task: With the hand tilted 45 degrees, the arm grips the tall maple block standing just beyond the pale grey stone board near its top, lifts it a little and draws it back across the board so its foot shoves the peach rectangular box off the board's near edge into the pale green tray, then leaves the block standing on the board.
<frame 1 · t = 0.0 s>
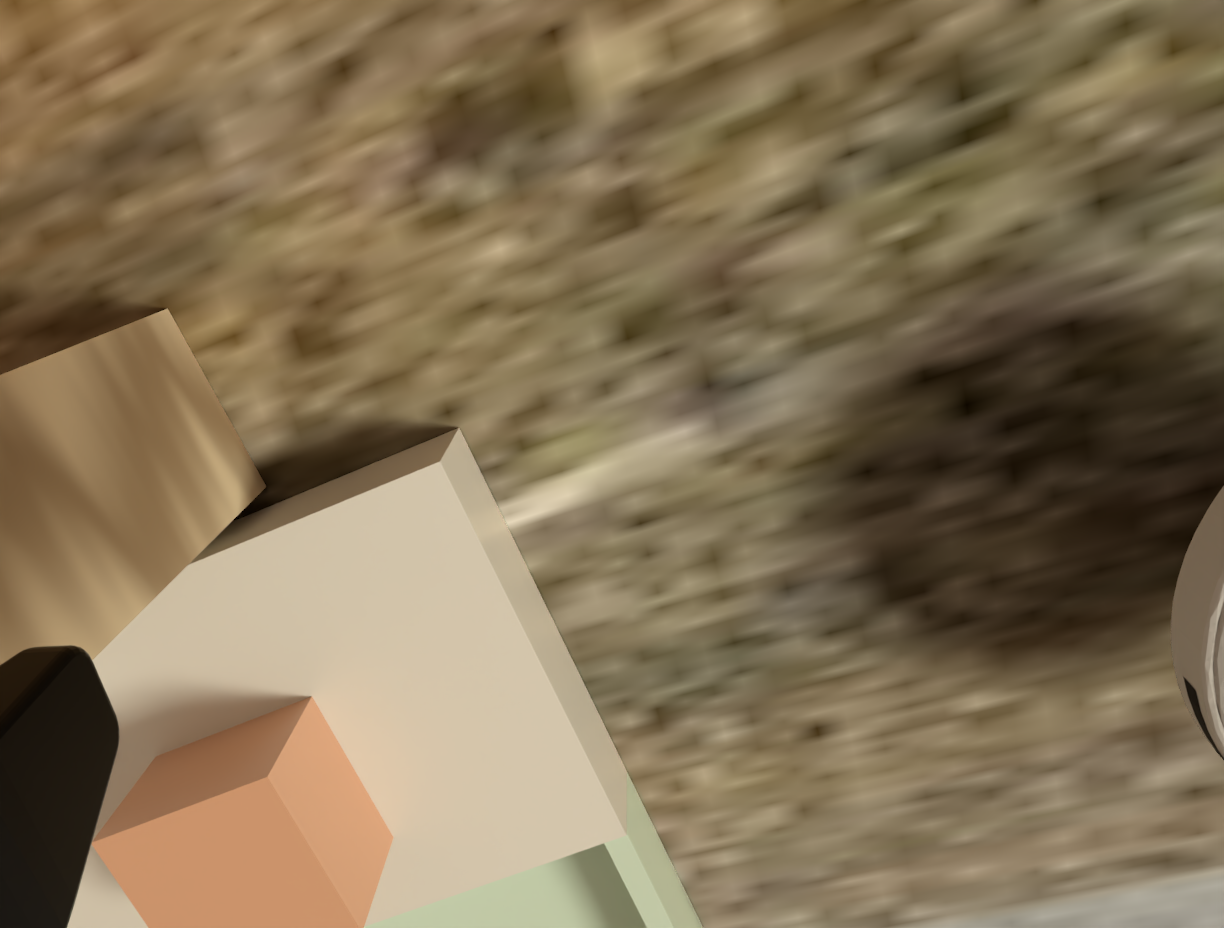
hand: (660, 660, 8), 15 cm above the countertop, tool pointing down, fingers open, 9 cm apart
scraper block: (132, 436, 24), on the countertop
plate: (290, 707, 26), on the countertop
peach rectangular box: (276, 797, 24), point 2 cm above the countertop, touching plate
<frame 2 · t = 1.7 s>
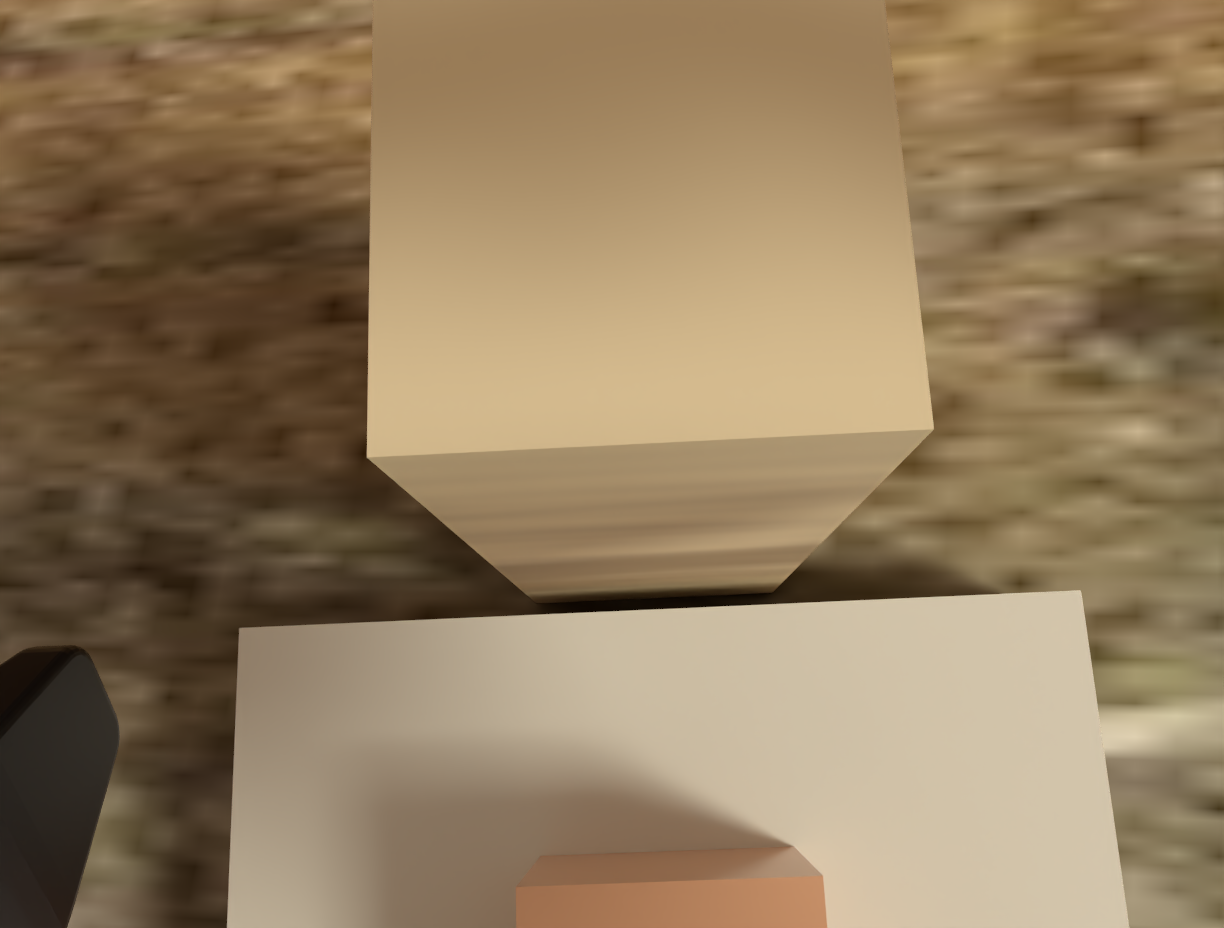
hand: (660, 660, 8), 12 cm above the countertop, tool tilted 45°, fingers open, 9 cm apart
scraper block: (648, 482, 20), on the countertop
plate: (668, 897, 19), on the countertop
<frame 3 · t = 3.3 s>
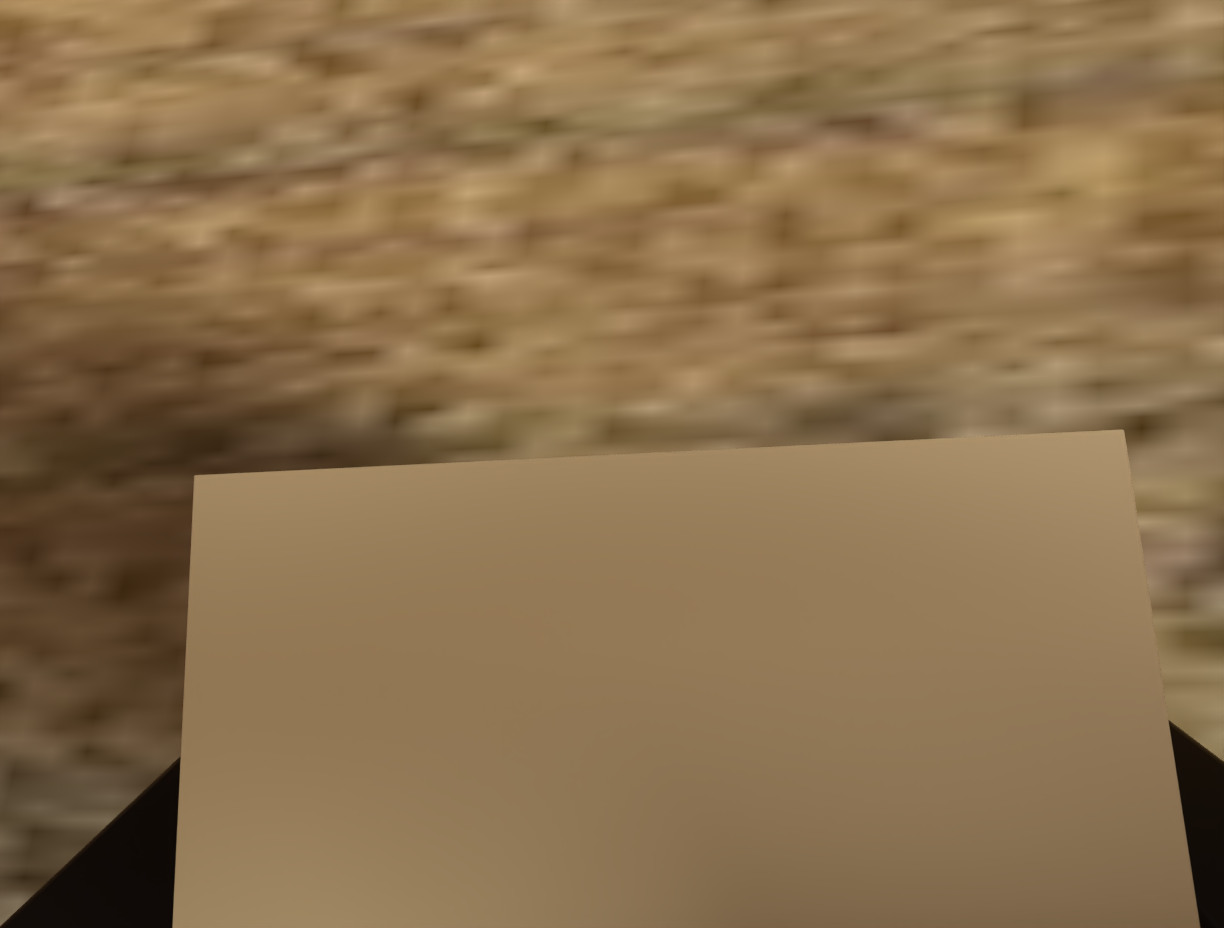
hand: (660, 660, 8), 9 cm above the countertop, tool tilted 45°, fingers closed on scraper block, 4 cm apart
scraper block: (662, 770, 16), on the countertop, touching gripper
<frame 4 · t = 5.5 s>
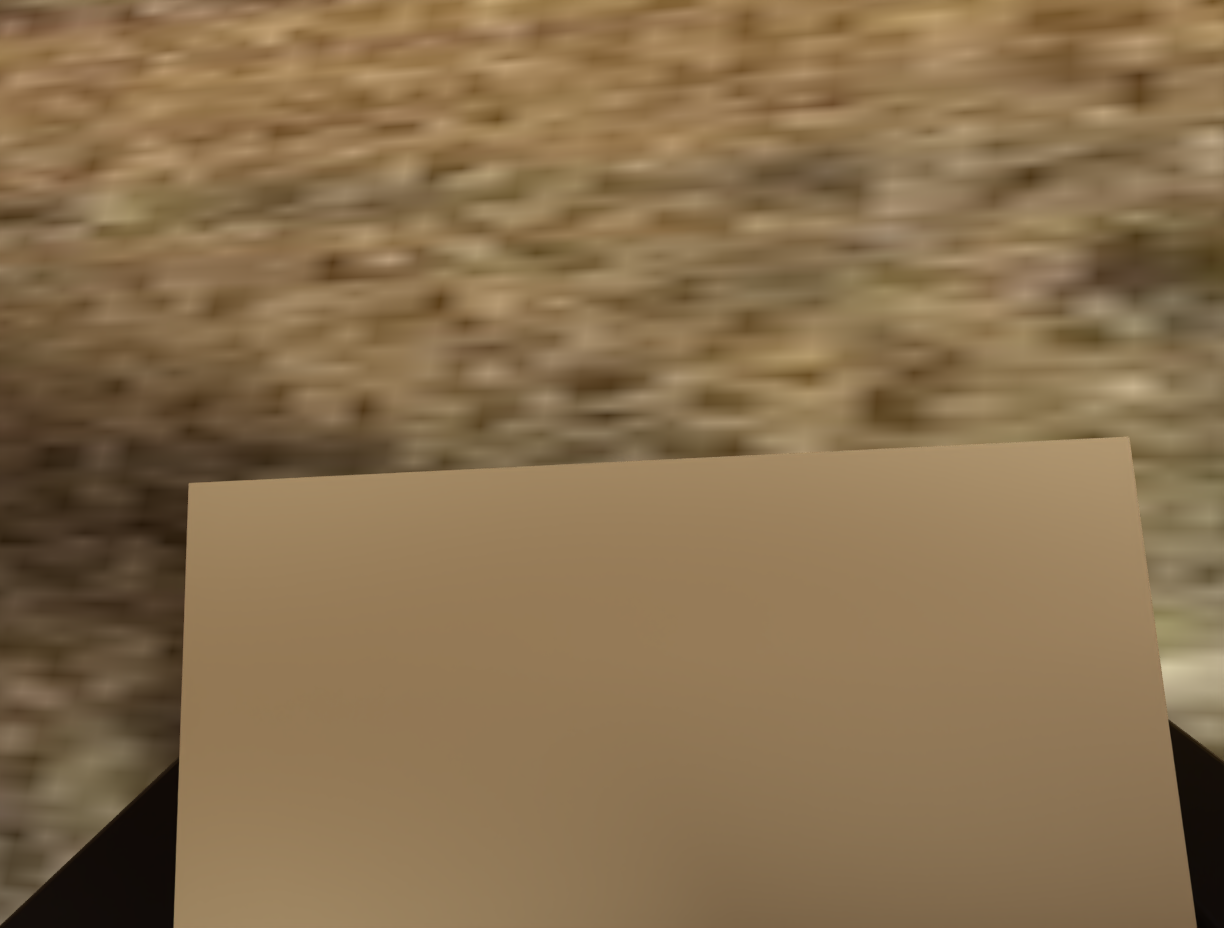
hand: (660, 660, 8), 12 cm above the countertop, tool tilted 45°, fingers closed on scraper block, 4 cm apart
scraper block: (661, 746, 16), point 3 cm above the countertop, touching gripper
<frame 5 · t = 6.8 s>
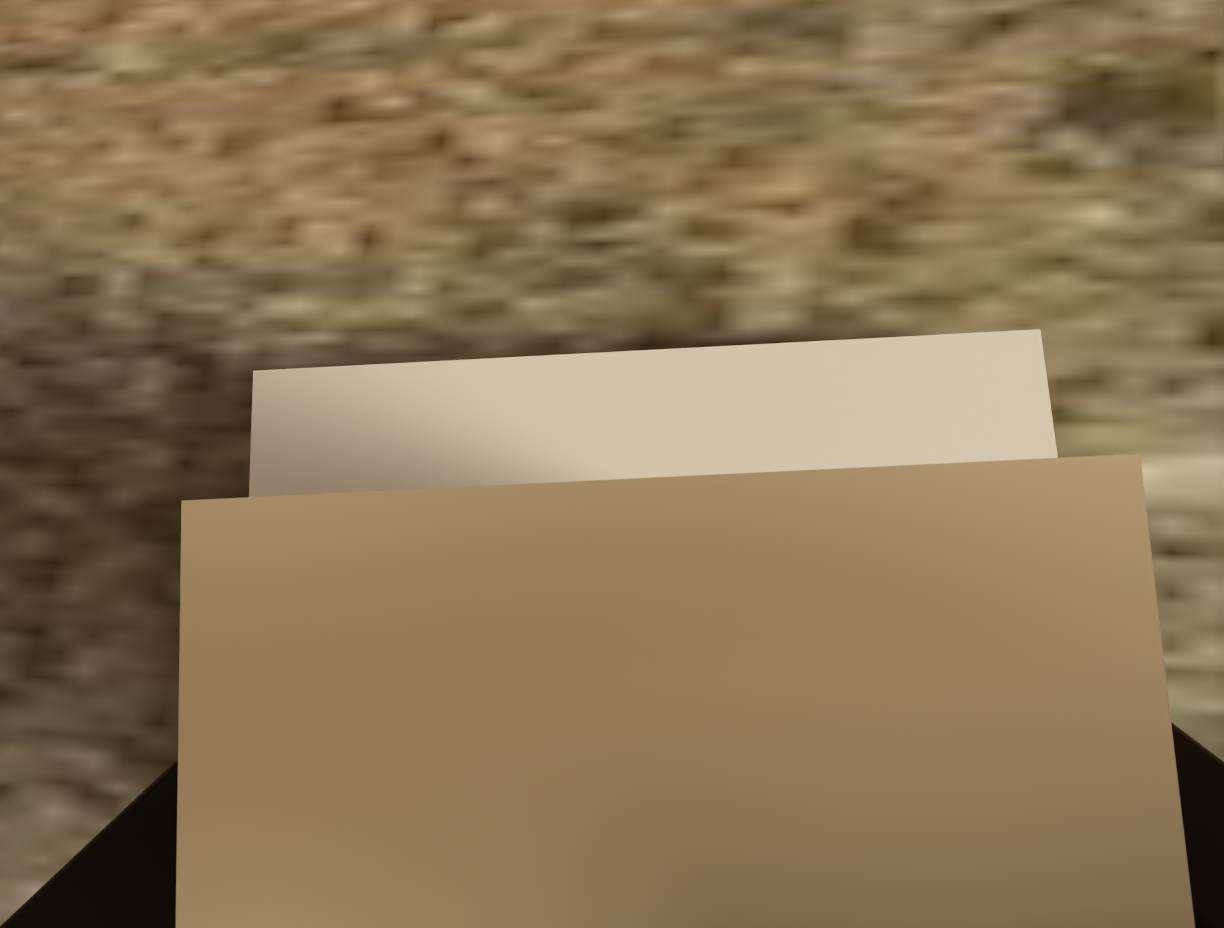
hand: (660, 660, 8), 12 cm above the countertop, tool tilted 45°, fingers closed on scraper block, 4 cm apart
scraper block: (660, 715, 16), point 3 cm above the countertop, touching gripper
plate: (655, 636, 20), on the countertop
when the fingers open (12 cm above the countertop, at t = 7.8 s): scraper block stays where it is, resting on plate.
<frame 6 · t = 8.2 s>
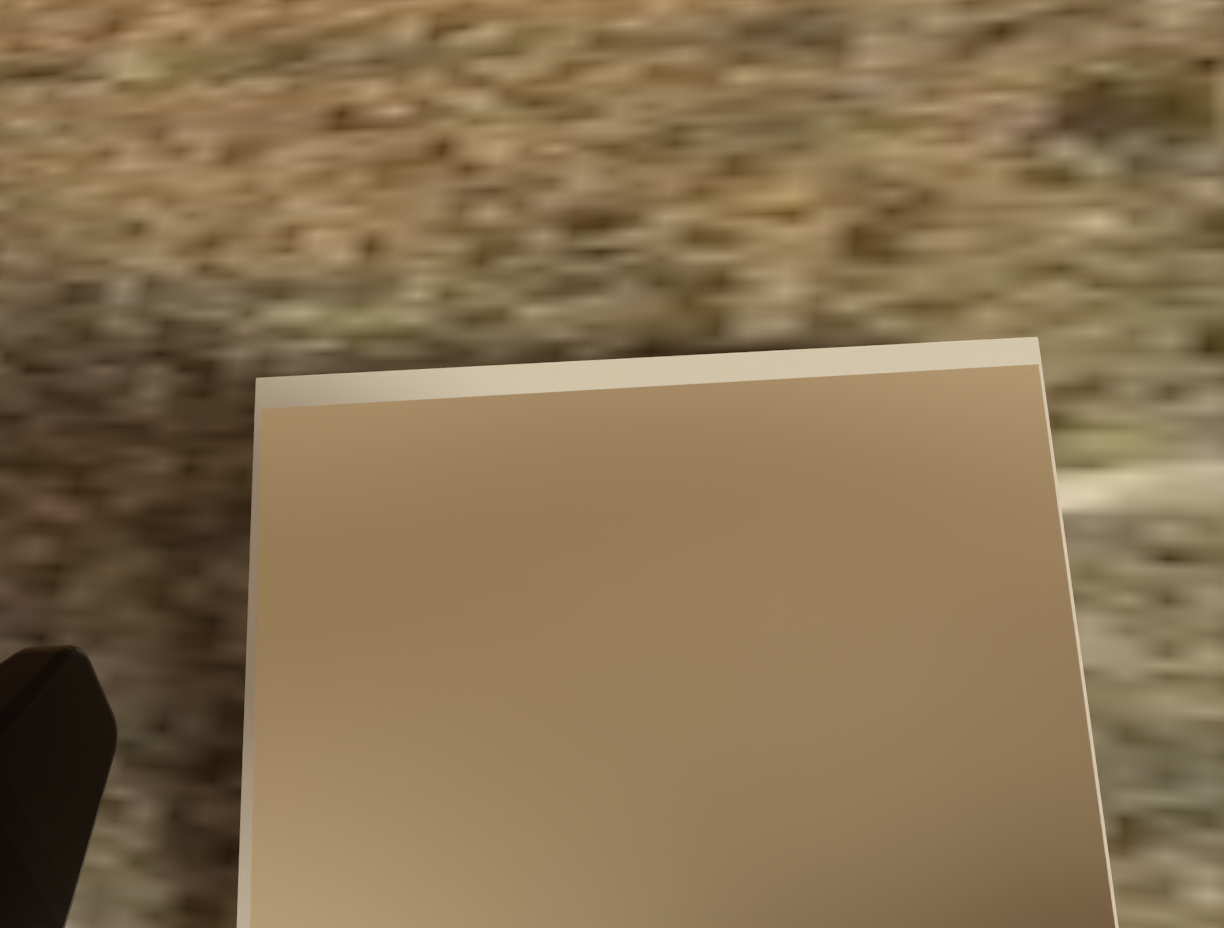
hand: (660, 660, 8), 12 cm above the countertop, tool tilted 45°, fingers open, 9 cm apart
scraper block: (659, 716, 17), point 3 cm above the countertop, touching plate
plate: (655, 641, 20), on the countertop
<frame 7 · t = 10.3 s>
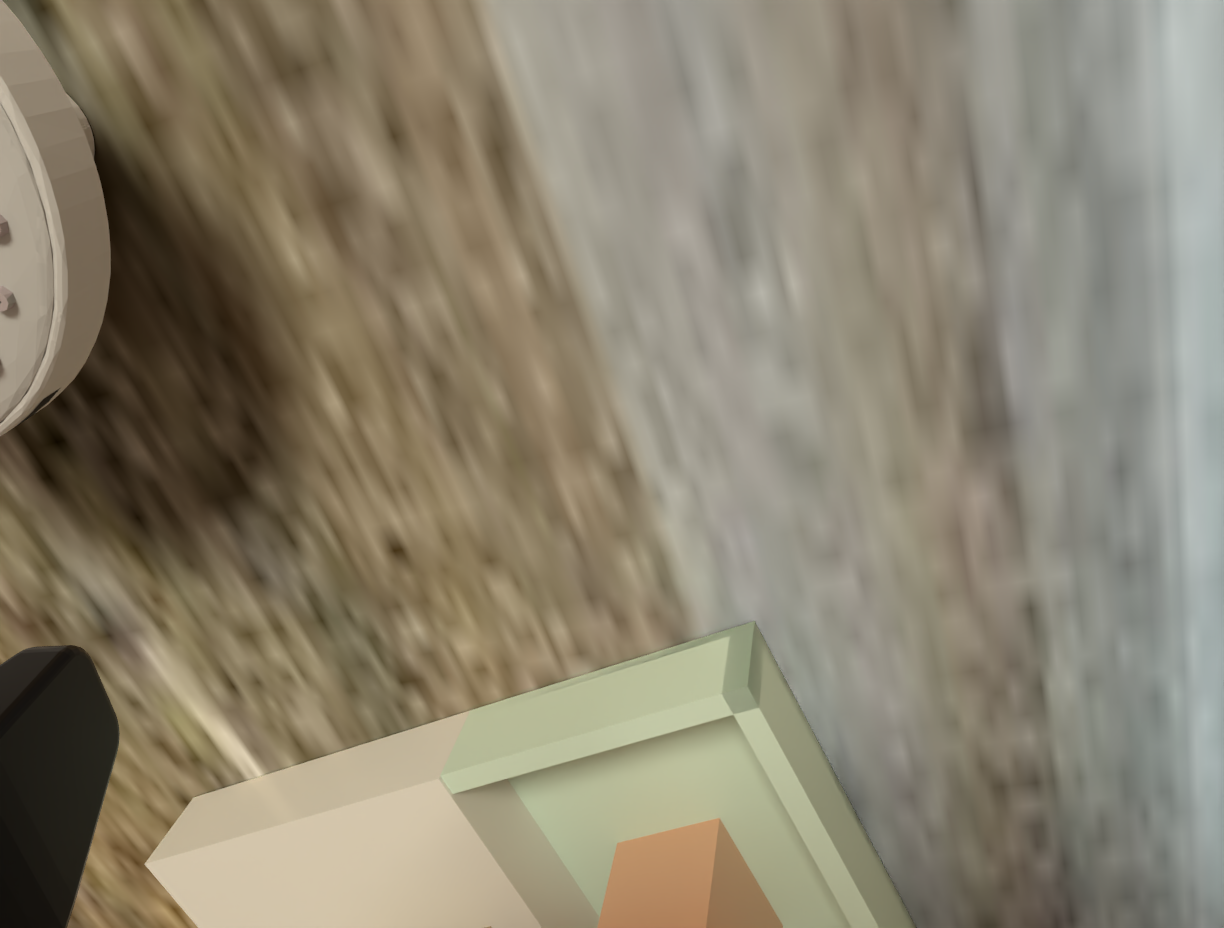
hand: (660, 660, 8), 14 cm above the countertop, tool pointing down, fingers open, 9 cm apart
showerhead: (43, 121, 22), on the countertop
tray: (724, 869, 28), on the countertop
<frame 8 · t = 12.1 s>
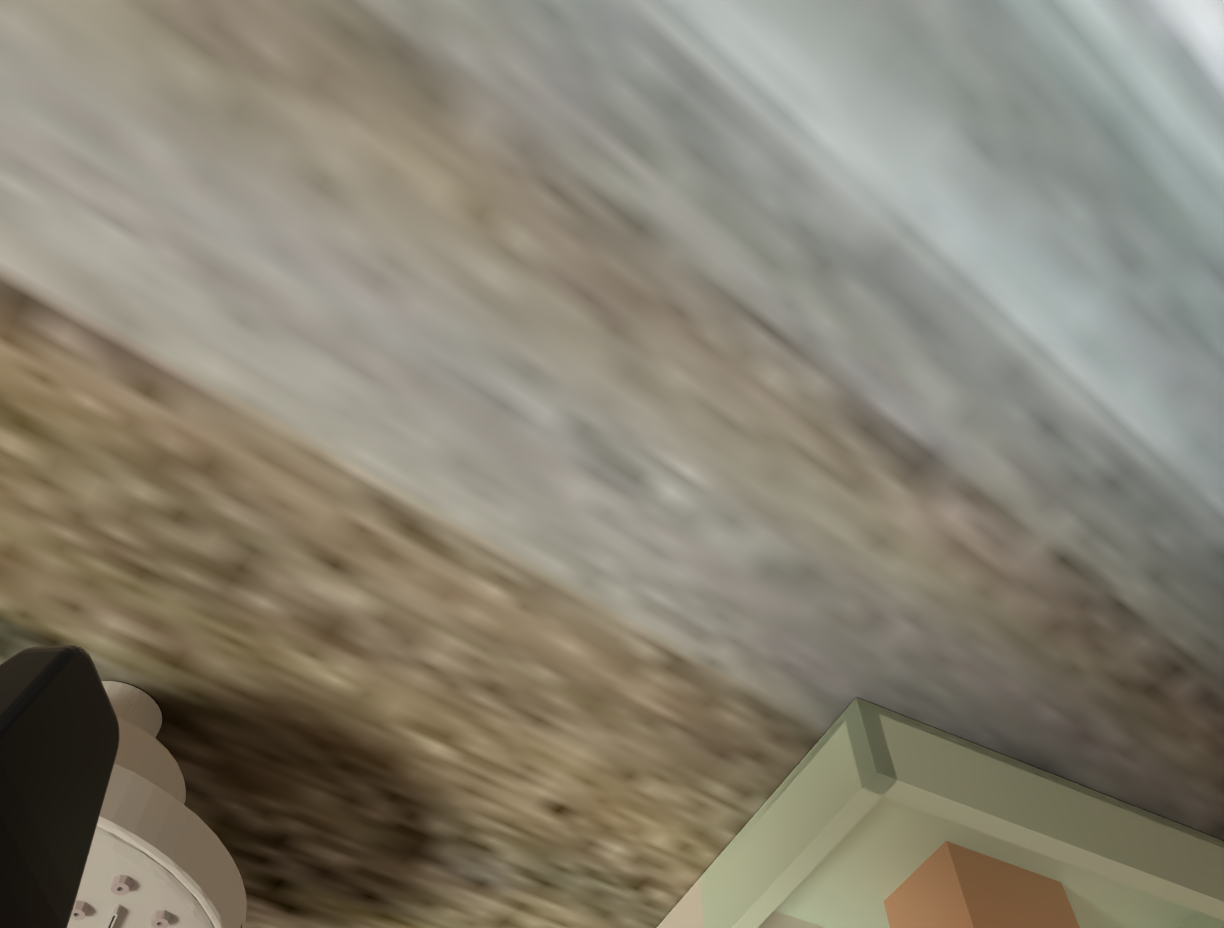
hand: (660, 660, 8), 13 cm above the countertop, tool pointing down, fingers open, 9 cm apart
showerhead: (110, 703, 27), on the countertop
tray: (982, 868, 30), on the countertop
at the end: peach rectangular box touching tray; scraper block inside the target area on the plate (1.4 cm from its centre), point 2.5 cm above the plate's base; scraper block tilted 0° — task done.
